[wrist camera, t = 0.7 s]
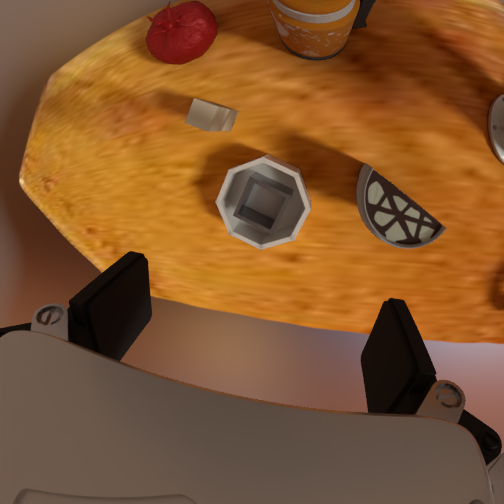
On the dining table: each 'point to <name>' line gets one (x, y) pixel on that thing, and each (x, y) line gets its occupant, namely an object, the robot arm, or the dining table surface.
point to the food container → (393, 212)
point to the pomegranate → (181, 33)
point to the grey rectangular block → (210, 116)
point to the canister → (318, 24)
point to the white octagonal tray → (264, 201)
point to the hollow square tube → (256, 217)
